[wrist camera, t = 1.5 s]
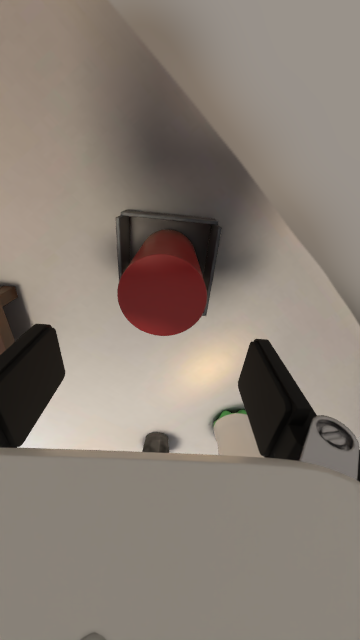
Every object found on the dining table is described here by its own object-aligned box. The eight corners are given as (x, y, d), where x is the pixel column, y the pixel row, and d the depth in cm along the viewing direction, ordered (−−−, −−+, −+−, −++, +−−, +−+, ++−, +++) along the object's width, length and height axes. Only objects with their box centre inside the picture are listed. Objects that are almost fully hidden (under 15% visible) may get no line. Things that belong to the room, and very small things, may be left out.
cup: (260, 436, 43) (293, 532, 31) (204, 439, 43) (215, 536, 31) (266, 398, 37) (310, 498, 25) (202, 402, 38) (214, 503, 25)
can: (140, 226, 23) (114, 249, 14) (199, 232, 23) (214, 258, 14) (140, 282, 26) (119, 333, 17) (192, 287, 27) (200, 338, 17)
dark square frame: (126, 210, 22) (115, 213, 18) (214, 218, 23) (222, 224, 19) (128, 292, 27) (120, 309, 23) (202, 298, 27) (206, 315, 24)
